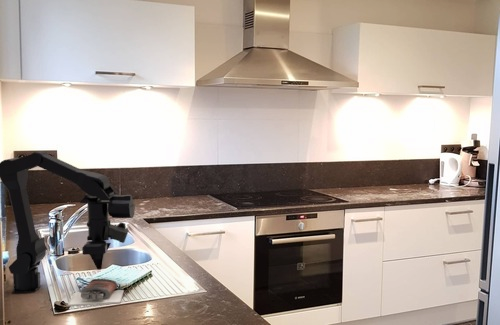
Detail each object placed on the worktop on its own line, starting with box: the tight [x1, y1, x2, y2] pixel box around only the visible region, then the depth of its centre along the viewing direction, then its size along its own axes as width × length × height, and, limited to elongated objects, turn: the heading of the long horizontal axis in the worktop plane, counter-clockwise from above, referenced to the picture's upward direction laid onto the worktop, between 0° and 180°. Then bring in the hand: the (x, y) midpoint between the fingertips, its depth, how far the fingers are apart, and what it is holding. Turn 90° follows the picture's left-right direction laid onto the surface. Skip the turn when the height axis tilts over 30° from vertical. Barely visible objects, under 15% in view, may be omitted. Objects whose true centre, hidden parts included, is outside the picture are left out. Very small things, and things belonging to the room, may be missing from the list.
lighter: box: [80, 278, 118, 300], centre depth 139 cm, size 8×3×10 cm
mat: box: [67, 289, 125, 307], centre depth 139 cm, size 14×9×1 cm, turn 99°
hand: (99, 269), depth 144 cm, fingers closed
